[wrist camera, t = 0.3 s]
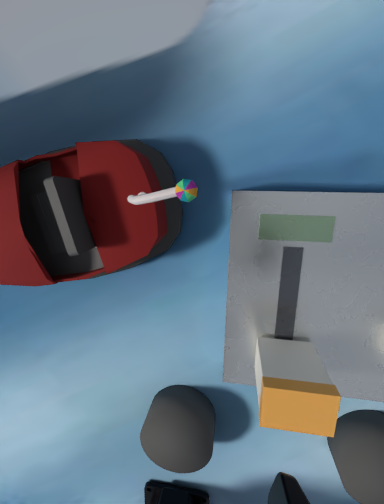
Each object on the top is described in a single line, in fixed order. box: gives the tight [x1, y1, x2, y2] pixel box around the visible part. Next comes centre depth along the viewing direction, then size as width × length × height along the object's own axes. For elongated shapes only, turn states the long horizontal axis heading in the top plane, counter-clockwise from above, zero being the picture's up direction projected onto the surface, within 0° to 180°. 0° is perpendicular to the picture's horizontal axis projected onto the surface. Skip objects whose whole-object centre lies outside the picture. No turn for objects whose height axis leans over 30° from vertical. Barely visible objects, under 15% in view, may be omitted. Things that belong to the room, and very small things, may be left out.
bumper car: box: [0, 140, 198, 286], centre depth 16 cm, size 10×20×10 cm, turn 104°
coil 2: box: [327, 410, 384, 504], centre depth 20 cm, size 6×6×3 cm
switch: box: [255, 337, 341, 437], centre depth 16 cm, size 2×4×5 cm
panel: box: [223, 190, 384, 402], centre depth 18 cm, size 14×18×3 cm
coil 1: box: [140, 385, 215, 473], centre depth 23 cm, size 6×6×3 cm
